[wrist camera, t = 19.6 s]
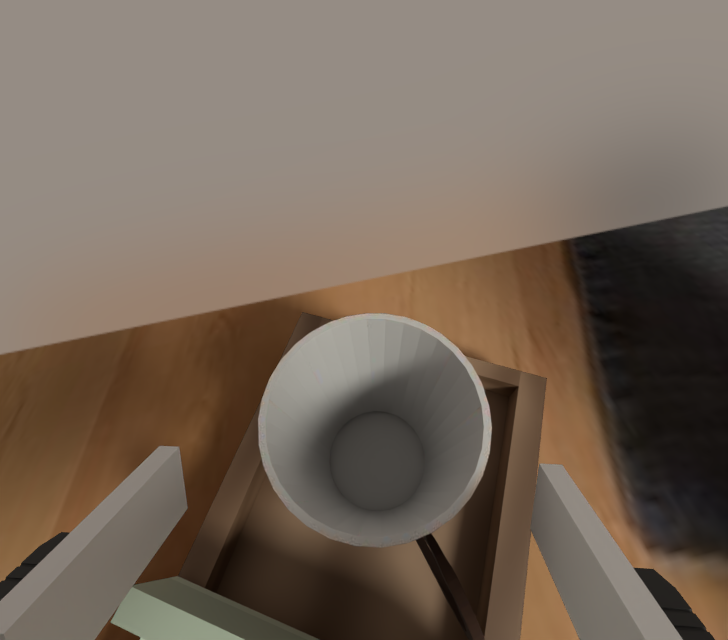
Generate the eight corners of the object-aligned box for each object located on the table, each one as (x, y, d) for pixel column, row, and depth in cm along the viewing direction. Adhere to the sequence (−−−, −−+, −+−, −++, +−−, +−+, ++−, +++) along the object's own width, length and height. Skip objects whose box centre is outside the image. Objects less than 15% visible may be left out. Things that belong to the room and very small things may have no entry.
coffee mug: (310, 391, 25) (272, 315, 16) (441, 389, 25) (473, 310, 16) (295, 610, 19) (222, 672, 11) (465, 611, 19) (535, 677, 10)
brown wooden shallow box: (525, 398, 26) (546, 378, 23) (417, 1242, 12) (430, 1515, 9) (312, 338, 29) (302, 312, 26) (37, 962, 16) (-63, 1085, 12)
